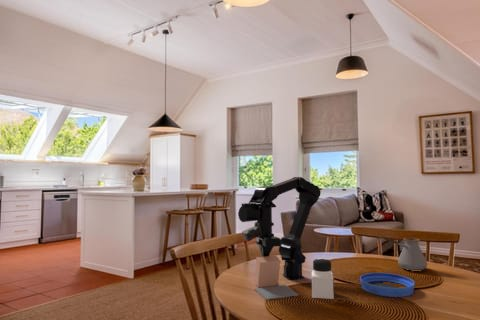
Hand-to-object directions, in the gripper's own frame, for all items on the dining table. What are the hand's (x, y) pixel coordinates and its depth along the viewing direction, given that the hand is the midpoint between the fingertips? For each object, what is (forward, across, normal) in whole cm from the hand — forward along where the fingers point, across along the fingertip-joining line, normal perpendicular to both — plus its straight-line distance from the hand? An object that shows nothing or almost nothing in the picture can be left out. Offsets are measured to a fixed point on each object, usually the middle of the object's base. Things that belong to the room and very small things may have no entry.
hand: (264, 261), depth 131 cm
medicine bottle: (+9, +18, +14) cm, 24 cm away
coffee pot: (+9, +2, +62) cm, 63 cm away
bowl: (+9, +19, +39) cm, 45 cm away
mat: (+8, +10, 0) cm, 13 cm away
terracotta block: (+8, +1, 0) cm, 8 cm away
